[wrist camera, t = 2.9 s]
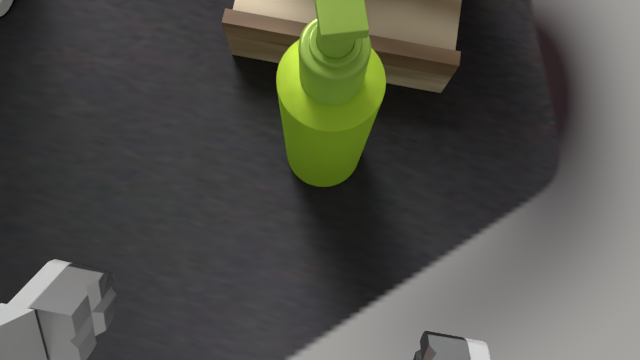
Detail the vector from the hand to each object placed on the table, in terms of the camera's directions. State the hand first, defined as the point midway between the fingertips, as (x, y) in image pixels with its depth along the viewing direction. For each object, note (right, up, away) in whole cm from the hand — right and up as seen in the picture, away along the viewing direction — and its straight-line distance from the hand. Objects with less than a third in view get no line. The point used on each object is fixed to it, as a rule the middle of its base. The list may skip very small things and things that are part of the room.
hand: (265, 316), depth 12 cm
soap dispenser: (+2, +6, +26) cm, 26 cm away
